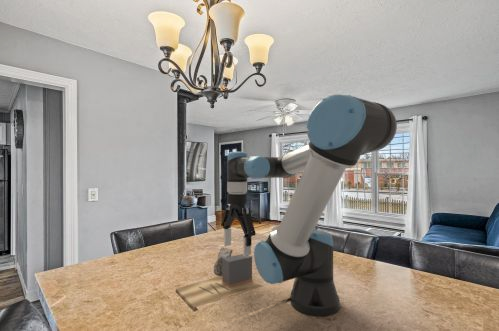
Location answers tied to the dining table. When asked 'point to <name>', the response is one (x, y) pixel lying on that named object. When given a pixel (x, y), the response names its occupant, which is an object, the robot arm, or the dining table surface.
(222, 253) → the rock
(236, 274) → the block
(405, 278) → the dining table surface
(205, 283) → the board
